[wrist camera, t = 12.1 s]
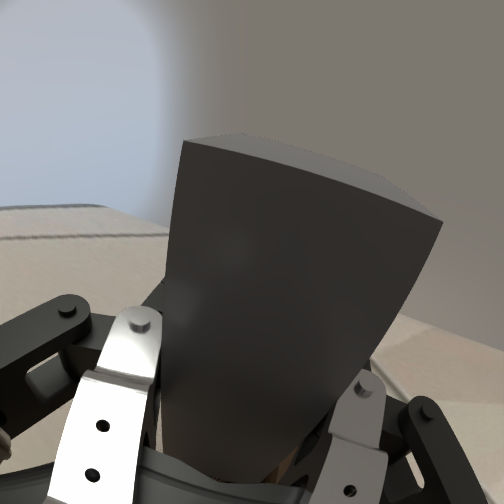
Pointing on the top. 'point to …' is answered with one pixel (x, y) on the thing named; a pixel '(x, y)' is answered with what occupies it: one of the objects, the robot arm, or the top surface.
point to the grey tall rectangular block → (275, 295)
